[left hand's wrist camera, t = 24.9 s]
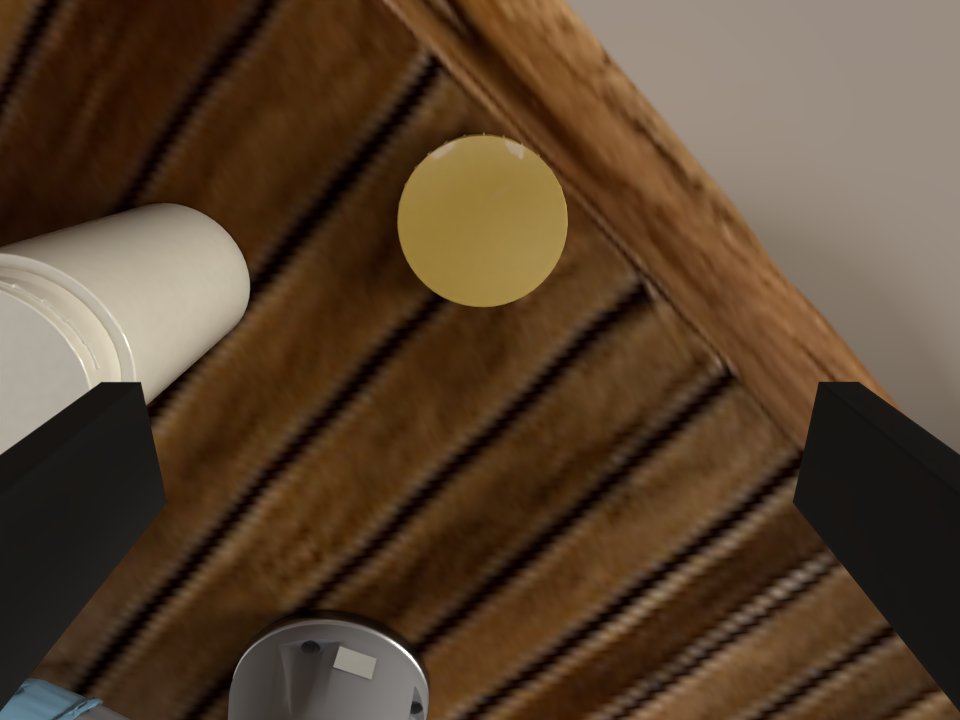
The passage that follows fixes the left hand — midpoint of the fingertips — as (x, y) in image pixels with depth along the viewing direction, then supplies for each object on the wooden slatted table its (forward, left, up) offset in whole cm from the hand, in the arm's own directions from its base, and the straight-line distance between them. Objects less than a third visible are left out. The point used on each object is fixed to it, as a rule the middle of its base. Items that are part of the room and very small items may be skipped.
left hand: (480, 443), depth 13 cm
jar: (-14, +12, -26) cm, 32 cm away
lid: (0, 0, -24) cm, 24 cm away
